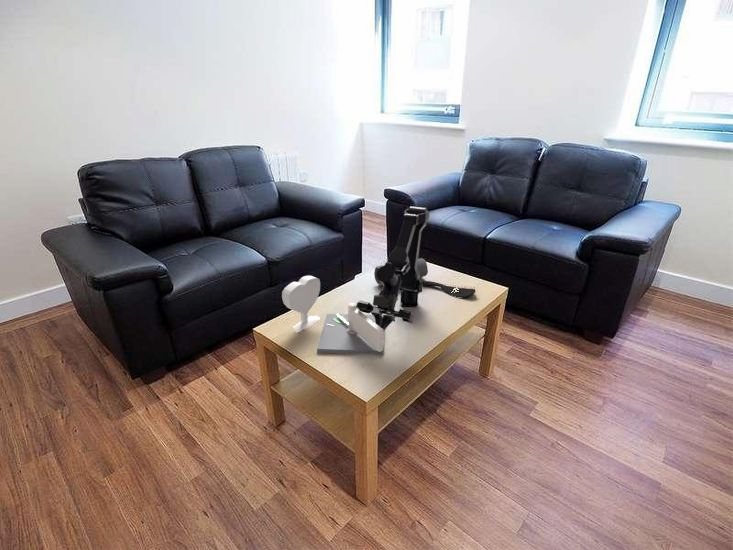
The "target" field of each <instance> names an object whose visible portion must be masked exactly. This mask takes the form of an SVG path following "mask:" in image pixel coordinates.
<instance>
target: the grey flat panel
mask: <svg viewBox="0 0 733 550" xmlns="http://www.w3.org/2000/svg"><path fill="white" fill-rule="evenodd" d="M337 314H338V315H340V316H341V317H342V318H343V319H344V320H345V321H347V322H348V313H347V314H346V313H345V314H344V313H326V316H325V320H324V323H323V326H322V330H321V334H320V336H319V340H318V343H317V348H316V352H317V353H320V354H321V353H322V354H325V353H326V354H352V355H353V354H354V355H355V354H356V355H357V354H359V355H384V350H383V351H381V352H379V351H377V350H376V349H375V348H374V347H373V346H372V345H370V344H369V343H368V342H367V341H366V340H365V339H363V338H362V337H361V336H360V335H359V334H358V333H357V332H355V331H354V332H351V331H349V326H347V325H346V324H345V323H344V322H343V321H342V320H340V319H339V318H338V317H337V316H336V315H337ZM364 315H365V316H367V317H368V318H369V319H371V320H372V321H373V322H374V323H376V322H375V317H374V316H373V315H372V314H364ZM383 315H384V314H382V317H383ZM384 340H385V338H384V336H383V347H384V346H385V345H384V343H385V342H384Z"/></svg>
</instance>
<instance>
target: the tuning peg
mask: <svg viewBox="0 0 733 550" xmlns="http://www.w3.org/2000/svg"><path fill="white" fill-rule="evenodd" d="M356 305H357V302H356V303H355V302H349V303H348V304H347V314H348V322H347V321H345V320H344V319H343V318H342V317H341V316H340V315H338V314H339V313H336V314H337V315H336V316H337V317H338V318H339V319H340V320H342V321H343V322H344V323H345V324H346V325H347V326H349V331H351V332H354V331H355V332H357V333H358V334H359V335H360V336H361V337H362V338H363V339H365V340H366V341H367V342H368V343H369V344H370V345H372V346H373V347H374V348H375V349H376V350H377V351H379V352H381V351H383V352H384V346H383V336H384V335H385V330H383V329H382V328H381V327H380V326H378V325H377V324H376V323H374V322H373V321H372V320H371V319H369V318H368V317H367V316H365V315H366V314H364V312H361V311H359V310H358V309H357V308H356Z"/></svg>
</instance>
